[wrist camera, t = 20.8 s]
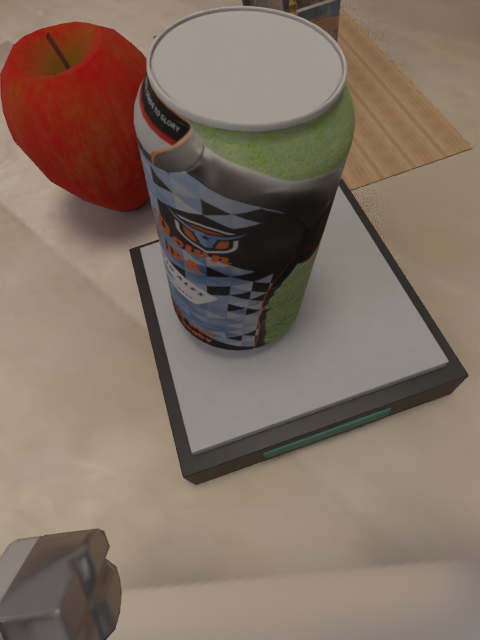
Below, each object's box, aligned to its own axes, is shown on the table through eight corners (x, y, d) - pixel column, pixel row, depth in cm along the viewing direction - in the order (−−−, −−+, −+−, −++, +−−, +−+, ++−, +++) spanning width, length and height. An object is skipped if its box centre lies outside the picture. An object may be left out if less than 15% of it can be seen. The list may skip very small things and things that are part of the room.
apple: (192, 148, 31) (144, -28, 21) (192, 238, 27) (133, 71, 17) (80, 165, 32) (-14, 2, 22) (64, 255, 28) (-60, 103, 18)
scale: (453, 395, 20) (475, 372, 18) (195, 487, 20) (179, 478, 17) (339, 206, 27) (343, 169, 24) (142, 273, 26) (125, 242, 23)
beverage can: (174, 267, 22) (61, 16, 12) (311, 237, 22) (322, -46, 11) (188, 378, 19) (52, 171, 9) (347, 343, 19) (407, 90, 8)
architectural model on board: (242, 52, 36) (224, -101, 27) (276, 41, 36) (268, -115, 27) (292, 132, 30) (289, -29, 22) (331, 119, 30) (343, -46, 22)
